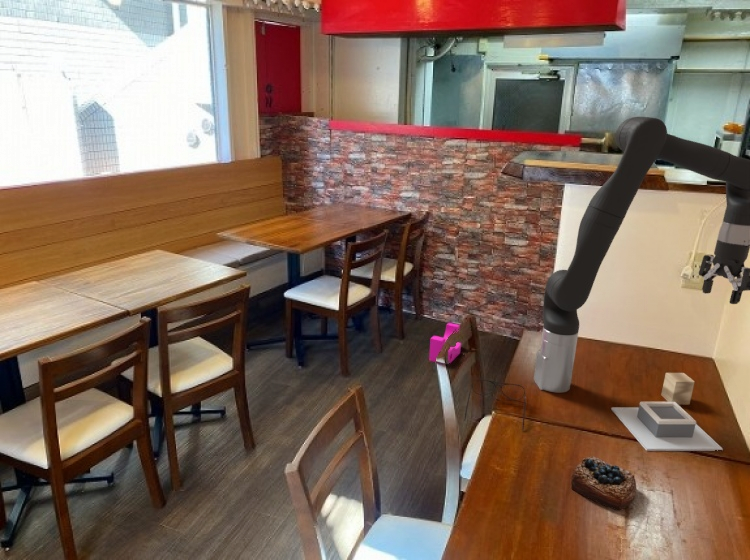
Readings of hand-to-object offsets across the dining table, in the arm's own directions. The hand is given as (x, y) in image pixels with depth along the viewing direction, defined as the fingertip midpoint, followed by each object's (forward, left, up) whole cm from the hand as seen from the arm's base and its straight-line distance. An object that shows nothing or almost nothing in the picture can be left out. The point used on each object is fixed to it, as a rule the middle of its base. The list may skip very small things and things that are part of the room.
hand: (719, 298), depth 148 cm
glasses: (-62, -13, -28) cm, 70 cm away
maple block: (-11, -7, -27) cm, 30 cm away
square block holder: (-22, -21, -27) cm, 41 cm away
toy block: (-69, +21, -27) cm, 77 cm away
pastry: (-47, -43, -27) cm, 70 cm away
